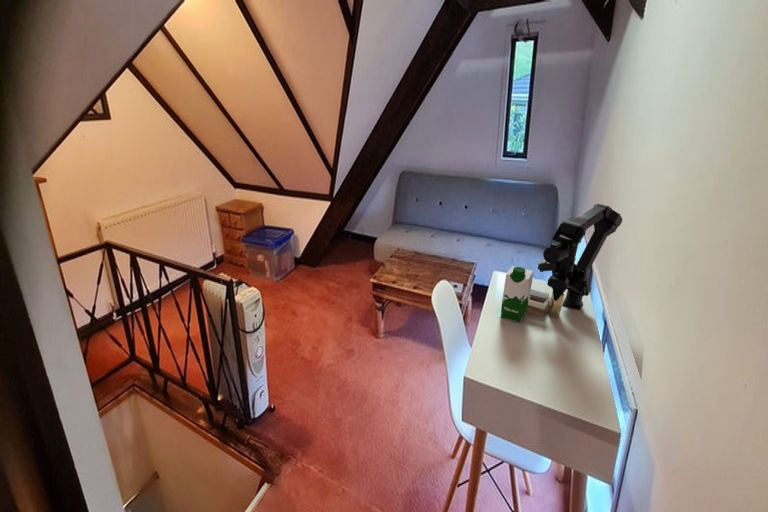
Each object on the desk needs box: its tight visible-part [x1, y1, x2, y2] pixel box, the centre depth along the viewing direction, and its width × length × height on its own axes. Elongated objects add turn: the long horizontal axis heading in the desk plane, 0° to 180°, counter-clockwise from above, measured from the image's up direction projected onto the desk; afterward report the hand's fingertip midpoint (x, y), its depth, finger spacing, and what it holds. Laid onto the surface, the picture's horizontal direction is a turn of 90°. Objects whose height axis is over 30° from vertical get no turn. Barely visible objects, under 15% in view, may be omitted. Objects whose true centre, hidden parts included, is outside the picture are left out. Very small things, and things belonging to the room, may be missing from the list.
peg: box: [547, 291, 565, 318], centre depth 145 cm, size 4×4×9 cm
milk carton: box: [500, 265, 534, 323], centre depth 142 cm, size 9×9×20 cm
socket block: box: [525, 288, 551, 317], centre depth 150 cm, size 10×8×8 cm
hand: (558, 294), depth 143 cm, fingers open, 9 cm apart
